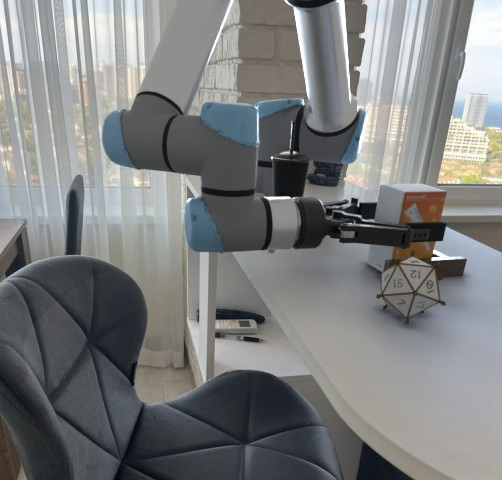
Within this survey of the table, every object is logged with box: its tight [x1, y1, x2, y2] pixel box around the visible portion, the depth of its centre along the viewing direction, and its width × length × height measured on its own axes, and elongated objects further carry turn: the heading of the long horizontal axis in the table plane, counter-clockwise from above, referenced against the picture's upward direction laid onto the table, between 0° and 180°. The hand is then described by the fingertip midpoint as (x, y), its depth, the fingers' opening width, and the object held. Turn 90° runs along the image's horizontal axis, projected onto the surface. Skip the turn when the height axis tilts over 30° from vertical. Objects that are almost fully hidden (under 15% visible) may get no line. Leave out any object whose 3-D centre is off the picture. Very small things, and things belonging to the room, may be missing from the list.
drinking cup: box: [271, 122, 312, 198], centre depth 98 cm, size 8×8×20 cm
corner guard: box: [383, 249, 468, 278], centre depth 86 cm, size 17×14×3 cm
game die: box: [374, 250, 447, 327], centre depth 63 cm, size 9×8×10 cm
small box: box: [366, 183, 448, 272], centre depth 80 cm, size 8×6×13 cm
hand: (416, 220), depth 80 cm, fingers open, 13 cm apart
